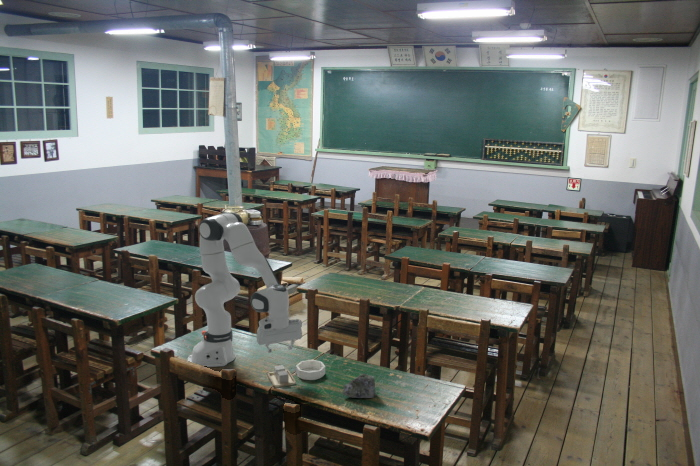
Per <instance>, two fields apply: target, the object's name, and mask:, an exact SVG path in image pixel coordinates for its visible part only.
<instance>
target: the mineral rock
mask: <svg viewBox="0 0 700 466" xmlns="http://www.w3.org/2000/svg"><path fill="white" fill-rule="evenodd" d="M342 386H343V390H342V395H343V396H345V397H349V398H353V399H355V398H357V399H362V398H364V399H369V398H370V399H371V398H372V399H373V398H375V396H376V389H375V387H376V380H375V376H374V375H367V374H366V373H362V374H359V375H358V376H357V377H356V378H354V379H352V380H350V381H349V382H348V383H346V384H344V385H342Z"/></svg>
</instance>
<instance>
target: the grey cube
mask: <svg viewBox="0 0 700 466" xmlns="http://www.w3.org/2000/svg"><path fill="white" fill-rule="evenodd" d="M285 370H286V368H285V366H284V365H283V364H280V365H274V366H273V372H274V376H275V378H276V379H277V372H280V371H285Z"/></svg>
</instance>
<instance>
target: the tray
mask: <svg viewBox="0 0 700 466" xmlns="http://www.w3.org/2000/svg"><path fill="white" fill-rule="evenodd" d="M285 371H287V373H288V375H289V383H282V384H279V383H278V381H277V379H276V378H275V376H274V371H270V372H266V375H267V378H268V380H269V381H270V383H271V385H272V388H282V387H287V386H293V385H297V381H296V379H295V378H294V376H293V375H292V372H291V371H290V370H289V369H285Z"/></svg>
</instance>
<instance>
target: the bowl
mask: <svg viewBox="0 0 700 466" xmlns="http://www.w3.org/2000/svg"><path fill="white" fill-rule="evenodd" d="M295 373H296V376H297V378H299V379H302V380H304V381H305V380H306V381H315V380H319V379H321V378H323V377H324V376H325V374H326V365H325V364H324V362H323V361H320V360H315V359H308V360H301V361H300V362H299V363H297V364H296V365H295Z"/></svg>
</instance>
